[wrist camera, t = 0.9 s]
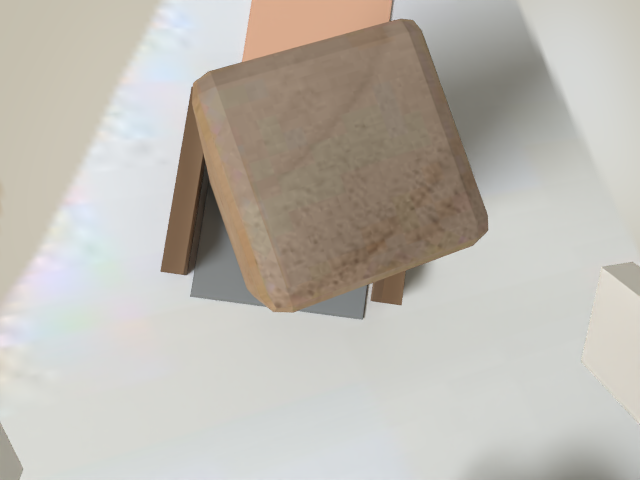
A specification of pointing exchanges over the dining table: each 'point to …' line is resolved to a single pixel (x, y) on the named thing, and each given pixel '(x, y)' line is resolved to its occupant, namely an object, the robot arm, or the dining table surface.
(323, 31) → the tile
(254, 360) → the dining table surface
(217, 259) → the grey square panel
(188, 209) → the lane rails
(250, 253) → the wooden block
